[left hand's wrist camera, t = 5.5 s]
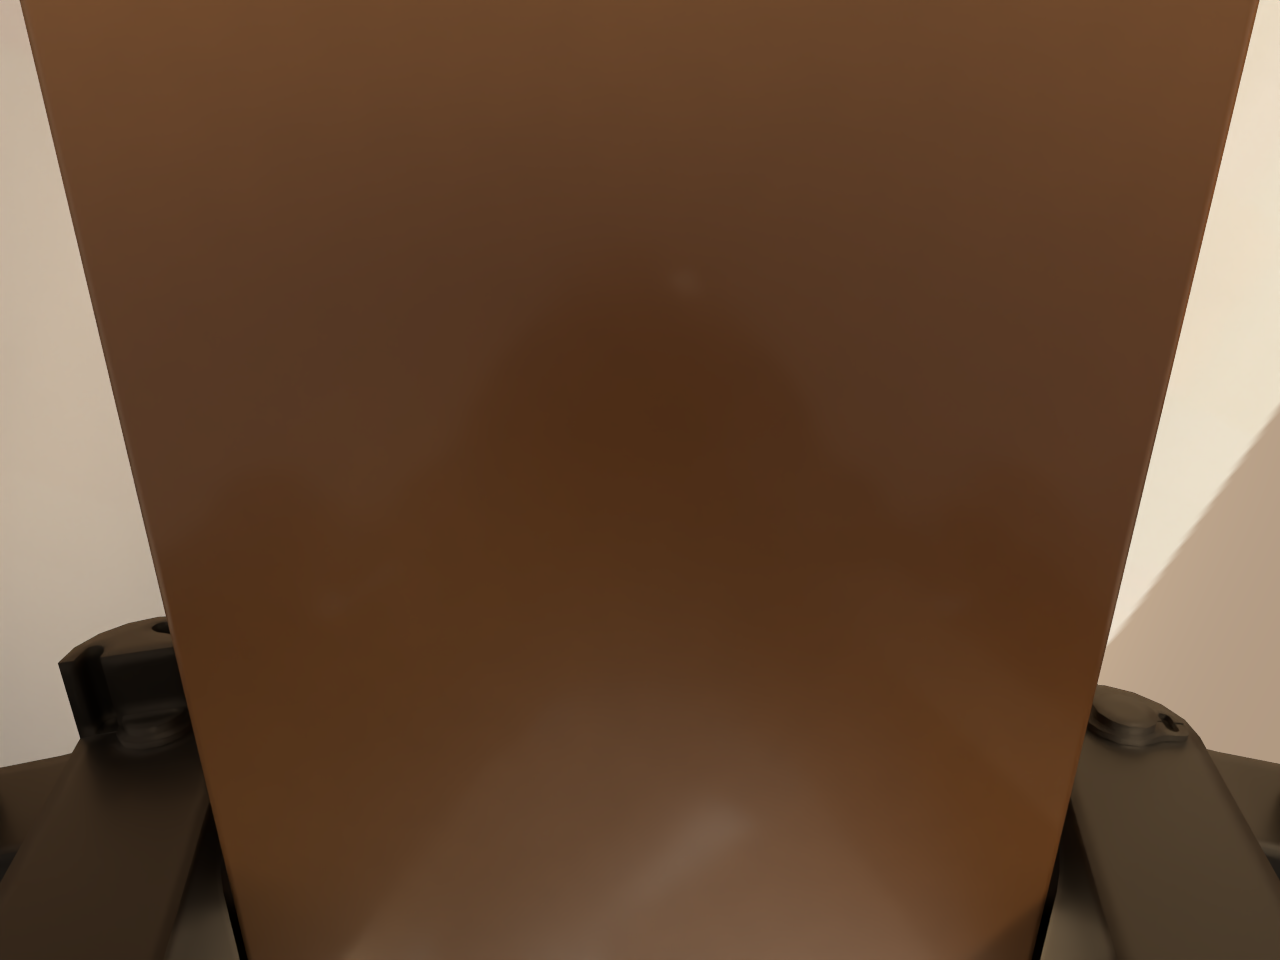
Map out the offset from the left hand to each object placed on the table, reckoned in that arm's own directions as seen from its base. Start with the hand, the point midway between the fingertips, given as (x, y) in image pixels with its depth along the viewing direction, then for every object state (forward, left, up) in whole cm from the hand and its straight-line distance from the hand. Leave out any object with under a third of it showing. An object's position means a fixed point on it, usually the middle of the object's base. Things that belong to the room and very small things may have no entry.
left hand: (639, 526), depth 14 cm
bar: (+9, +2, 0) cm, 9 cm away
